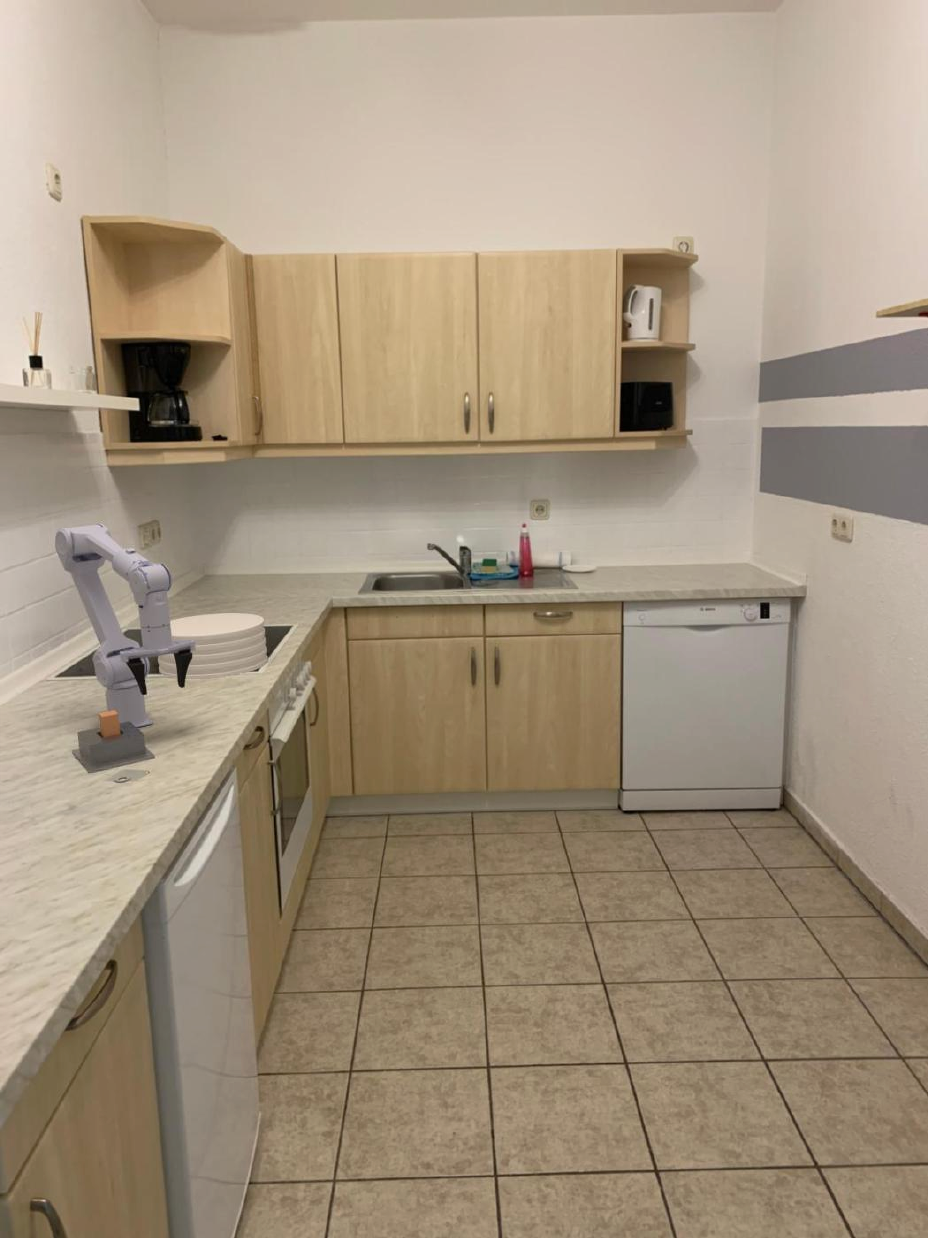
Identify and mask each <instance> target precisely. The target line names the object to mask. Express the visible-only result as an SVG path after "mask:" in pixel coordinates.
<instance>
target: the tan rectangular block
mask: <svg viewBox="0 0 928 1238" xmlns="http://www.w3.org/2000/svg"><path fill="white" fill-rule="evenodd" d="M97 714H98V720H99V728H100V731H101V738H105V737H109V736H114V735H119V734H121V733H120V725H119V717H118V713H117V712H116V711H115V710H113V711H108V710H107V711H104V712H103V711H102V712H98V713H97Z"/></svg>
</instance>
